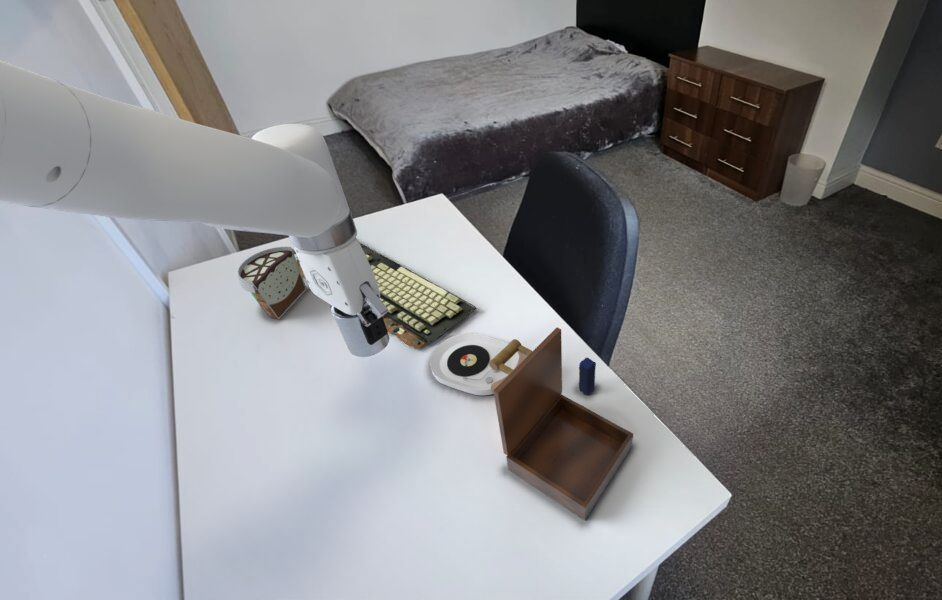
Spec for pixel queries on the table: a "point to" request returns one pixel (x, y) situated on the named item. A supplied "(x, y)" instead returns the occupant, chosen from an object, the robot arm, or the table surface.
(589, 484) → the storage box
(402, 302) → the keyboard
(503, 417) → the lid
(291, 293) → the food container
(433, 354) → the record player
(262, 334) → the table surface
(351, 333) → the steel cup
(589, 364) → the eraser
